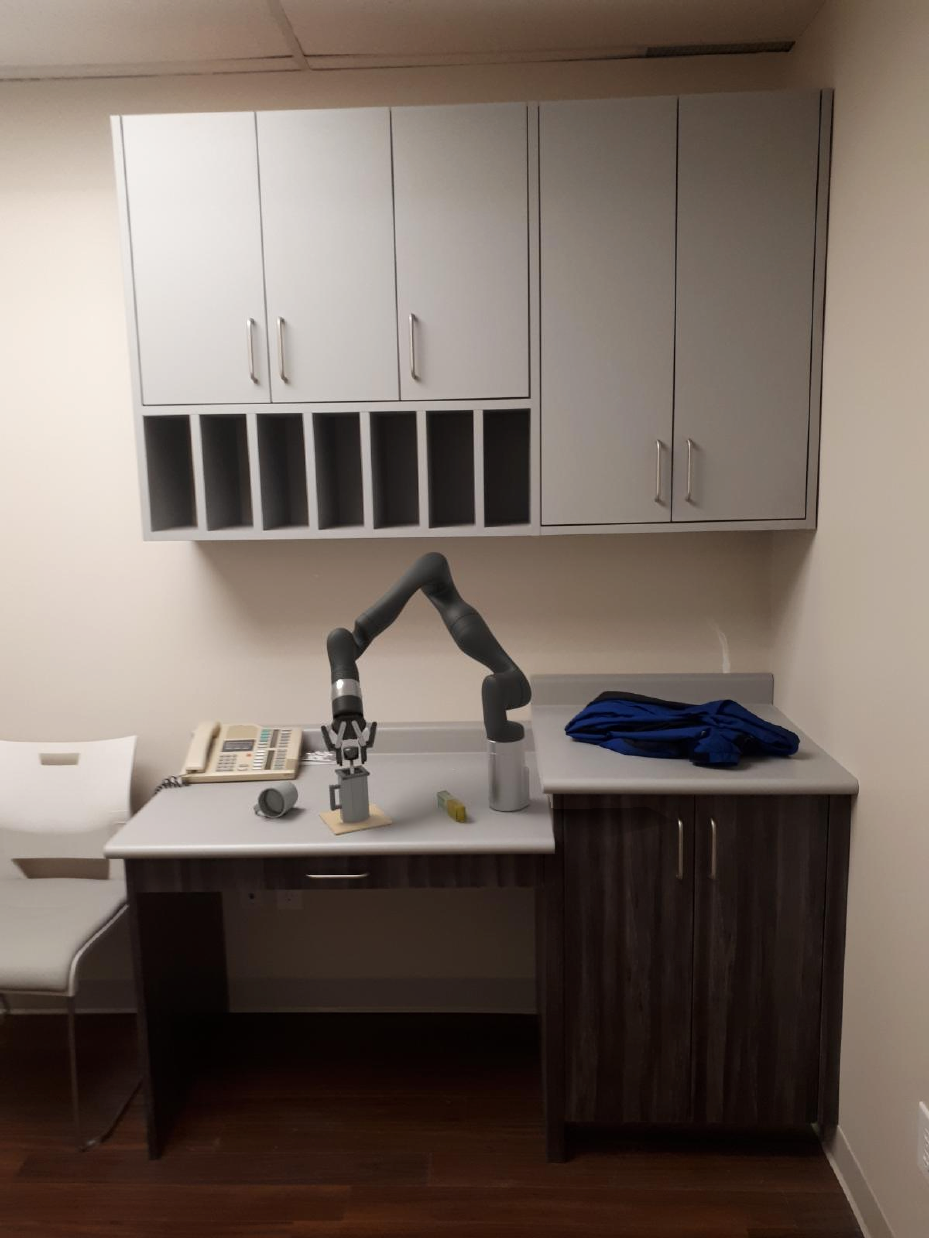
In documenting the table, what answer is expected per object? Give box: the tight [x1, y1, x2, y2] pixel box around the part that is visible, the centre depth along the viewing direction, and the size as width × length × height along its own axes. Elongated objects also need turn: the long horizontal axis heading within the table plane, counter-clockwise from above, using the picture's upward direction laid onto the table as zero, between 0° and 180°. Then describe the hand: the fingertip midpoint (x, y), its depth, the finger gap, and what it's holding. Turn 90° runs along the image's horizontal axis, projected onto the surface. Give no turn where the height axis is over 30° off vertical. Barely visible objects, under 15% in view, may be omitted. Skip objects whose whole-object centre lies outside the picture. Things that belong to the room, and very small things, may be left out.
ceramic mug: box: [252, 780, 299, 819], centre depth 223 cm, size 11×8×8 cm
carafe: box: [318, 764, 393, 836], centre depth 215 cm, size 14×14×12 cm
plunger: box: [342, 745, 360, 775], centre depth 214 cm, size 4×4×14 cm
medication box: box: [436, 790, 467, 823], centre depth 217 cm, size 12×3×4 cm, turn 24°
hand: (351, 763), depth 212 cm, fingers open, 4 cm apart
